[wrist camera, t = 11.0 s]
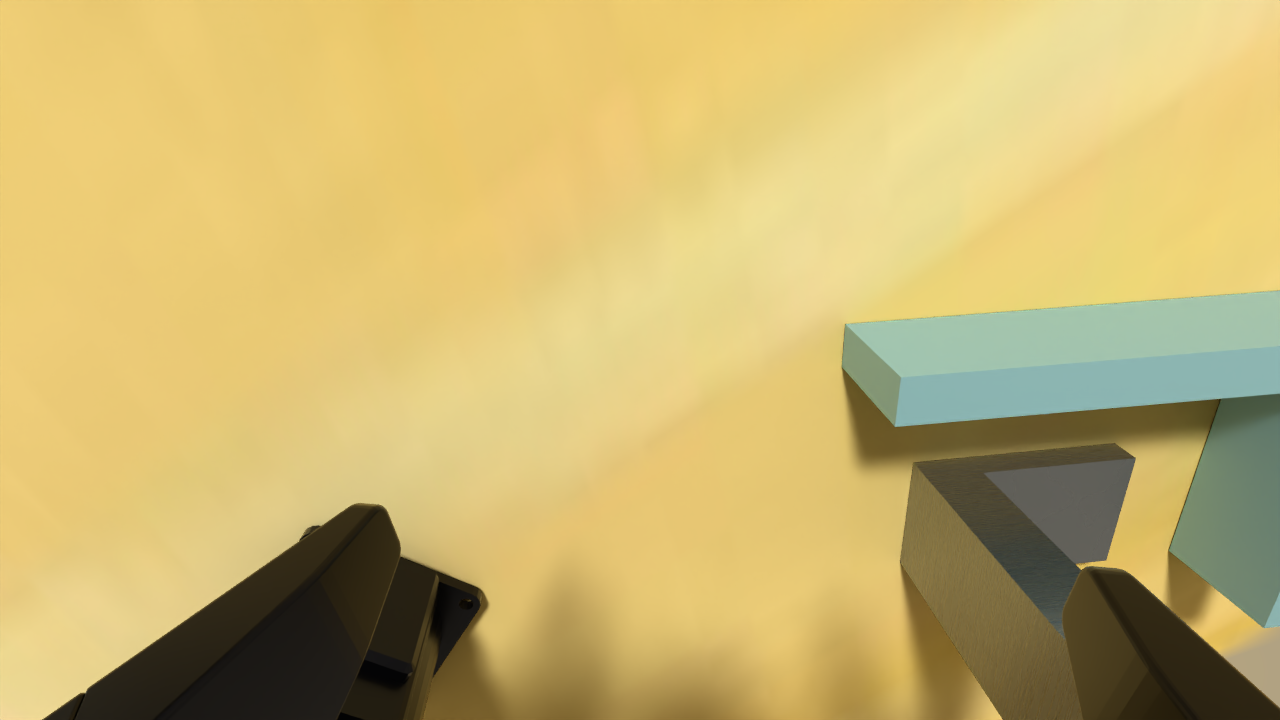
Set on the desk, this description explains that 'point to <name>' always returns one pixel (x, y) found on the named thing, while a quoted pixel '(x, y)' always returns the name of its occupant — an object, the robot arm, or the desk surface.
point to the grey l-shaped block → (1013, 562)
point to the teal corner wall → (1116, 401)
